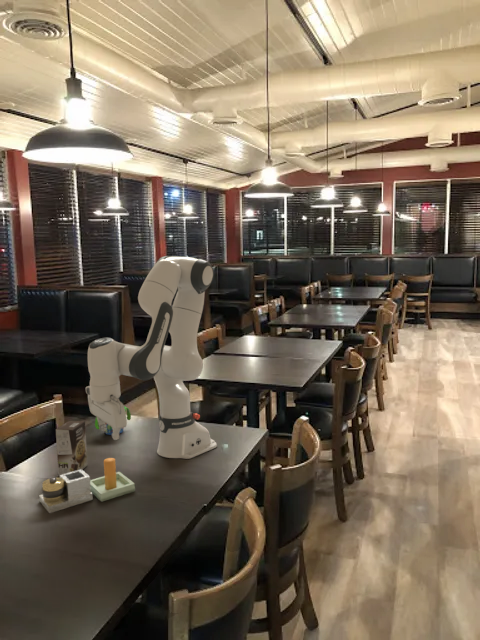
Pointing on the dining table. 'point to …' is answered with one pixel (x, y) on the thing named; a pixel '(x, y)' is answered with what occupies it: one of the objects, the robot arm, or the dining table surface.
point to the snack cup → (109, 428)
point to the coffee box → (71, 447)
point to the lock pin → (110, 473)
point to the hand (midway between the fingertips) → (109, 434)
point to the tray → (102, 494)
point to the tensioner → (66, 491)
